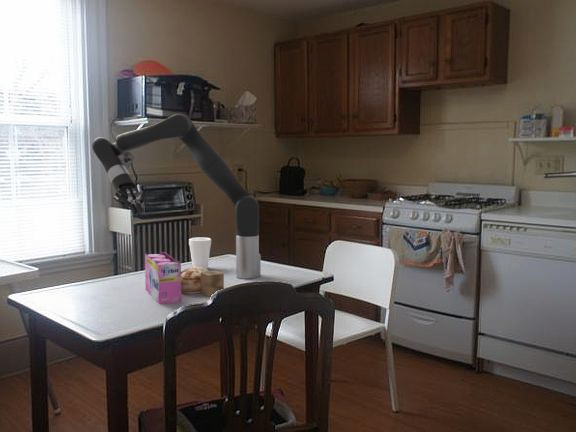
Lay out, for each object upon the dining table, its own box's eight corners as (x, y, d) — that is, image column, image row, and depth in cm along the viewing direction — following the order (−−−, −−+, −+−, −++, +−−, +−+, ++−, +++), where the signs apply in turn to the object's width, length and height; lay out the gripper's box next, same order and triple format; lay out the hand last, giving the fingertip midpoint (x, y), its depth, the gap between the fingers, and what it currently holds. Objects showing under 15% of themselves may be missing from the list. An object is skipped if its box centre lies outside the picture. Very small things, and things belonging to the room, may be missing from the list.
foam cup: (209, 270, 233) (208, 241, 231) (187, 270, 233) (187, 240, 231) (212, 266, 242) (212, 237, 241) (191, 265, 242) (191, 237, 241)
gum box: (144, 288, 203) (143, 252, 201) (165, 286, 206) (164, 251, 205) (159, 304, 181) (158, 264, 180) (182, 301, 185) (181, 262, 183)
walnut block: (215, 291, 199) (215, 270, 198) (223, 295, 194) (223, 273, 193) (201, 294, 195) (200, 272, 194) (208, 297, 190) (208, 275, 189)
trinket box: (209, 282, 212) (208, 263, 211) (217, 292, 198) (217, 271, 197) (174, 285, 207) (174, 265, 206) (180, 295, 193) (180, 273, 192)
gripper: (108, 173, 202) (127, 208, 195) (140, 172, 212) (159, 205, 205) (101, 186, 206) (119, 221, 199) (132, 185, 216) (151, 218, 209)
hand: (139, 213), depth 202 cm, fingers closed
